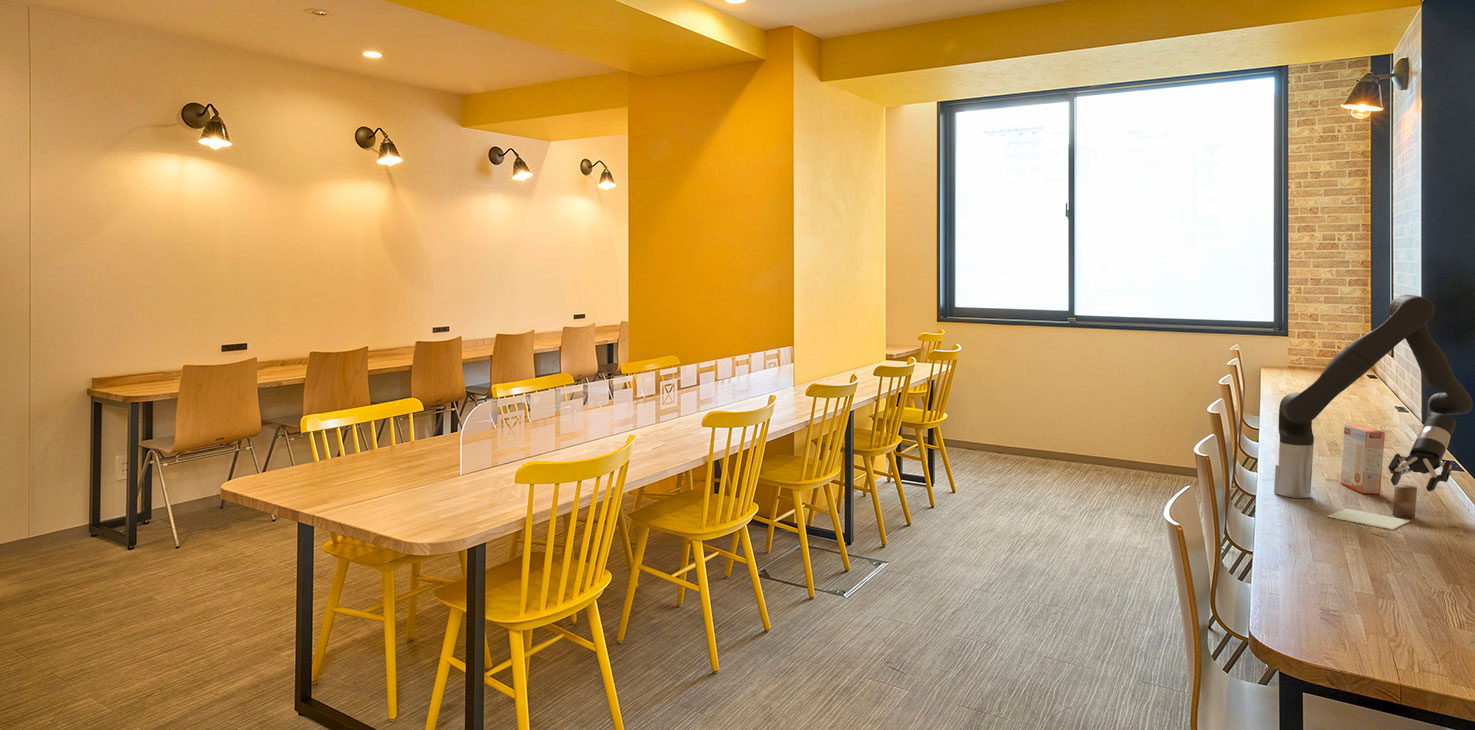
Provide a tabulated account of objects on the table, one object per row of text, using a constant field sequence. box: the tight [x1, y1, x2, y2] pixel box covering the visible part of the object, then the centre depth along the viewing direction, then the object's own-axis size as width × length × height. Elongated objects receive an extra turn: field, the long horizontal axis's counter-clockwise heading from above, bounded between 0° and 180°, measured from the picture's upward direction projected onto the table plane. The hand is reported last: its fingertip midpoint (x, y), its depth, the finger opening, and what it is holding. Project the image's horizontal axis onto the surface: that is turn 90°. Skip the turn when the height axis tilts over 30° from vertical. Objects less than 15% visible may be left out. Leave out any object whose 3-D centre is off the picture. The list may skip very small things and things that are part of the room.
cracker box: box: [1340, 424, 1386, 495], centre depth 281 cm, size 14×6×21 cm, turn 168°
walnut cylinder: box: [1392, 484, 1418, 520], centre depth 250 cm, size 5×5×9 cm
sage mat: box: [1326, 508, 1411, 531], centre depth 247 cm, size 16×14×1 cm
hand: (1411, 486), depth 251 cm, fingers open, 8 cm apart
